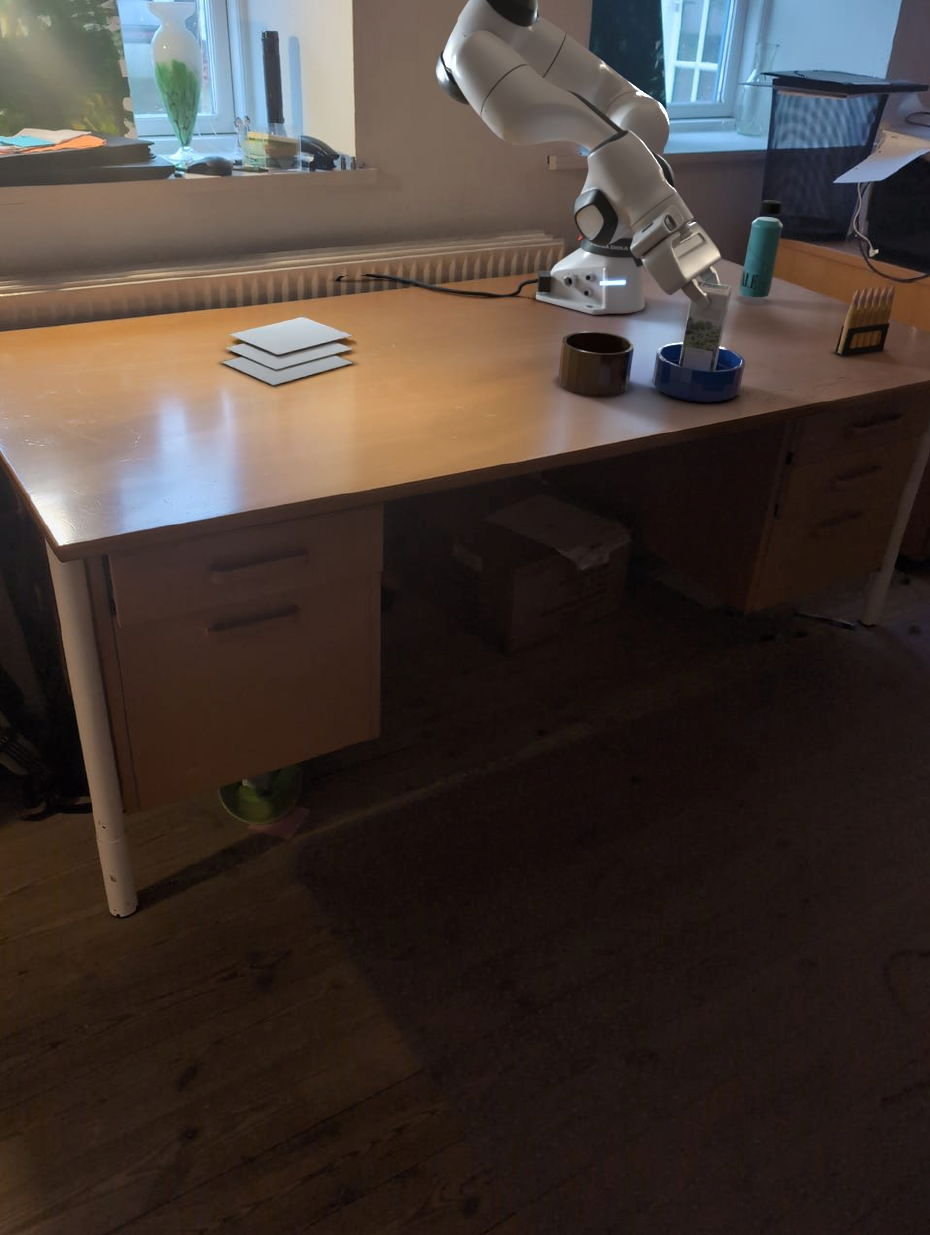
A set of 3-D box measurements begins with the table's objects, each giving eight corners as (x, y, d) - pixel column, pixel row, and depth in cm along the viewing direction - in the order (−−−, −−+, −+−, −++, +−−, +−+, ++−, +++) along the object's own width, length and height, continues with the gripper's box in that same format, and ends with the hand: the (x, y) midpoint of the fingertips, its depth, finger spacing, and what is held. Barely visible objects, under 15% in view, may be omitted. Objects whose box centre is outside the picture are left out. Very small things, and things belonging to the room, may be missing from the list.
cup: (547, 387, 165) (551, 345, 161) (574, 367, 174) (579, 327, 170) (613, 402, 160) (618, 359, 157) (638, 381, 169) (644, 340, 165)
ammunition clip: (841, 356, 186) (858, 290, 179) (834, 353, 187) (850, 287, 180) (883, 350, 190) (901, 285, 183) (875, 347, 191) (893, 282, 185)
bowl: (640, 392, 165) (644, 359, 162) (667, 368, 175) (672, 337, 172) (724, 411, 159) (731, 377, 156) (748, 385, 170) (754, 353, 167)
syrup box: (715, 372, 168) (733, 284, 160) (710, 383, 163) (728, 293, 155) (681, 367, 169) (697, 279, 161) (675, 378, 165) (691, 288, 157)
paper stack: (388, 352, 175) (388, 348, 175) (273, 385, 159) (273, 381, 159) (303, 320, 188) (302, 316, 188) (188, 347, 172) (188, 343, 172)
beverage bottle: (770, 299, 216) (791, 200, 205) (764, 306, 211) (785, 205, 200) (740, 294, 218) (759, 196, 207) (733, 301, 213) (752, 201, 202)
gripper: (669, 228, 167) (715, 298, 169) (626, 252, 152) (677, 328, 154) (700, 203, 163) (747, 275, 165) (658, 225, 148) (711, 304, 150)
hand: (713, 301), depth 159 cm, fingers closed on syrup box, 6 cm apart
